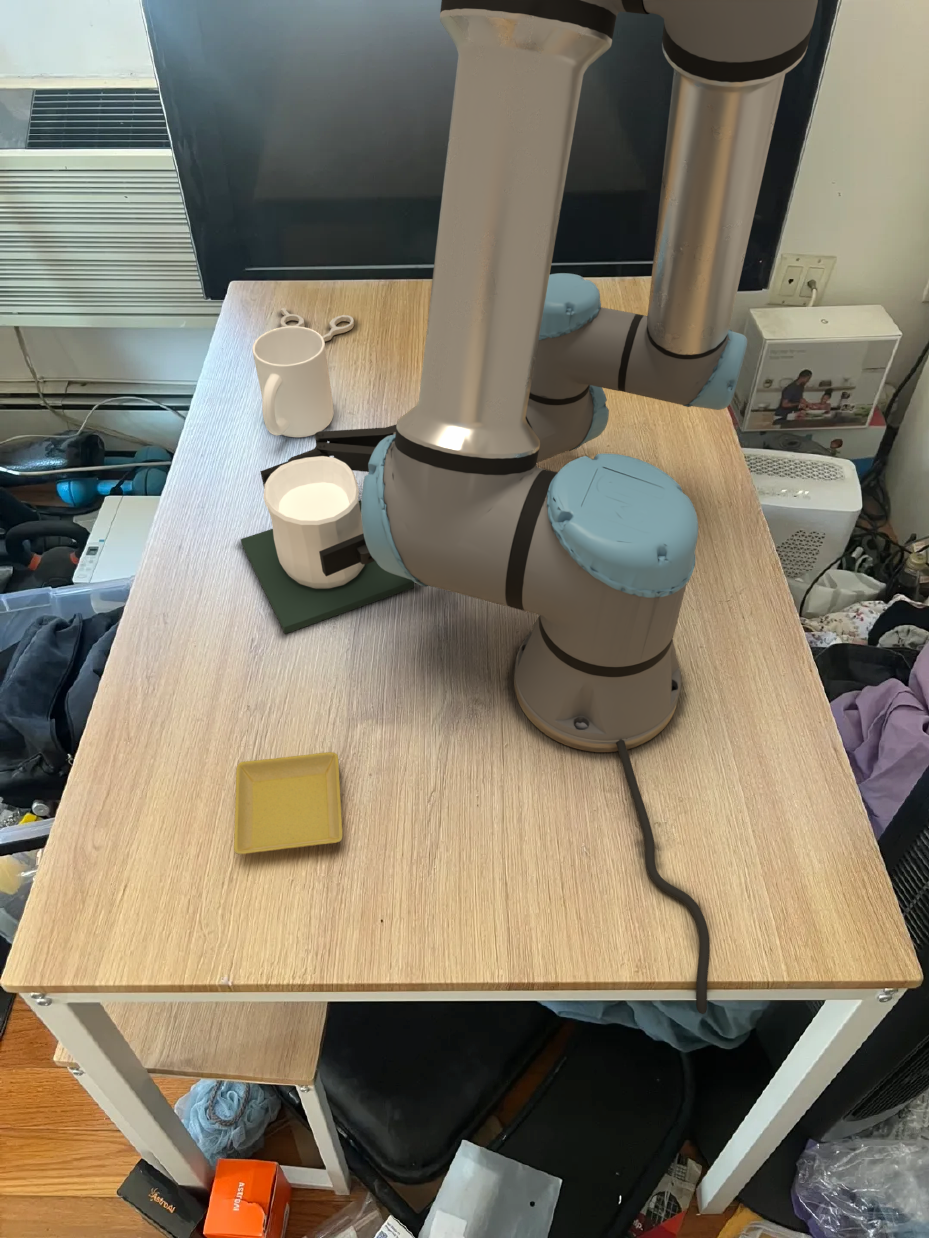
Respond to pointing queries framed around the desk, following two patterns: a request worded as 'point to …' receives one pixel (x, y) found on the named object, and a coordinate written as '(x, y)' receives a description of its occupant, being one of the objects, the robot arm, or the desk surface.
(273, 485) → the cup
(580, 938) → the desk surface
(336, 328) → the scissors
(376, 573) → the cup mat
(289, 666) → the desk surface
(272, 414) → the mug
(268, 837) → the saucer
